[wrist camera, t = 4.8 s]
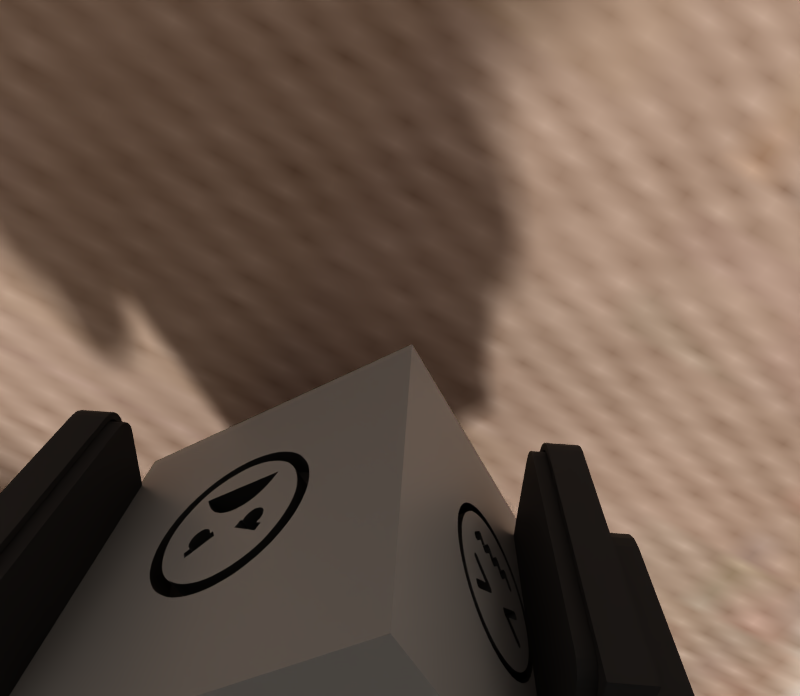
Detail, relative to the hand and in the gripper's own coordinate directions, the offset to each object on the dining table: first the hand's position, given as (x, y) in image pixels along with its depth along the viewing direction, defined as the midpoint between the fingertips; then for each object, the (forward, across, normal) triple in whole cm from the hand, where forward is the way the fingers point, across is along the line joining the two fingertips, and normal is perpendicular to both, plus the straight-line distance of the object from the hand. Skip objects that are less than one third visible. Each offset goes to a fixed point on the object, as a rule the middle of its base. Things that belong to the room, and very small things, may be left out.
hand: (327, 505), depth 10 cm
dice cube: (+1, 0, +1) cm, 1 cm away
